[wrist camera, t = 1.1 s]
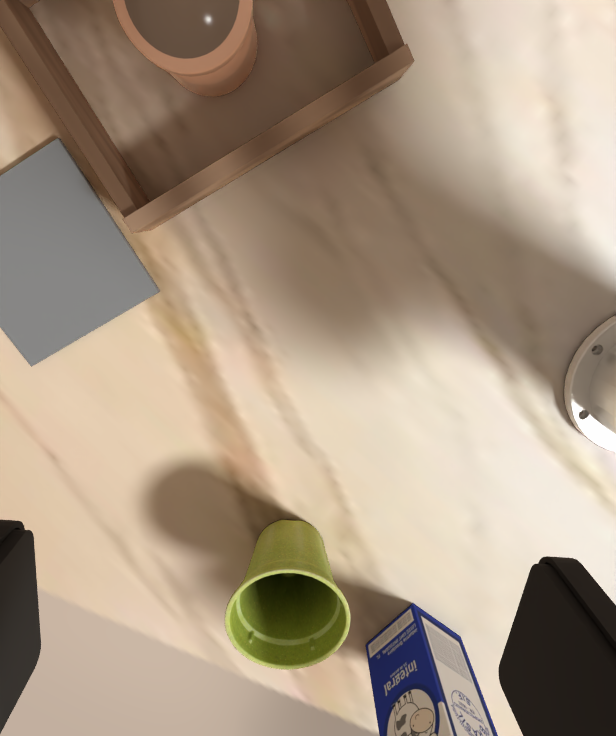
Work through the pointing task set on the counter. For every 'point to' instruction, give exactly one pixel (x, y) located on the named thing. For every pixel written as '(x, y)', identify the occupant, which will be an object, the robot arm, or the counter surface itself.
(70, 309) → the mat
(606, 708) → the robot arm
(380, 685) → the milk carton
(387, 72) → the wooden tray
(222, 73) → the terracotta pot
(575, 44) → the counter surface
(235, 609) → the plant pot
